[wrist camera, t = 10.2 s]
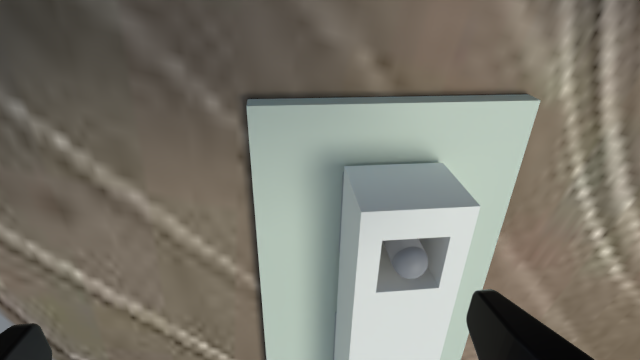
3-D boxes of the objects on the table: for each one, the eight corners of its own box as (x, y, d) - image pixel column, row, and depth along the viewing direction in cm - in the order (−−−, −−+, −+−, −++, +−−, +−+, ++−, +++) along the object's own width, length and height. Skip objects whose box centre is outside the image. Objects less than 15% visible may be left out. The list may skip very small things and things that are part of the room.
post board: (528, 94, 19) (618, 140, 14) (448, 368, 30) (484, 449, 25) (247, 99, 18) (238, 152, 13) (269, 386, 29) (269, 475, 24)
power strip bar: (442, 162, 19) (480, 206, 16) (403, 364, 27) (422, 423, 24) (344, 166, 19) (361, 212, 15) (333, 371, 27) (342, 432, 23)
